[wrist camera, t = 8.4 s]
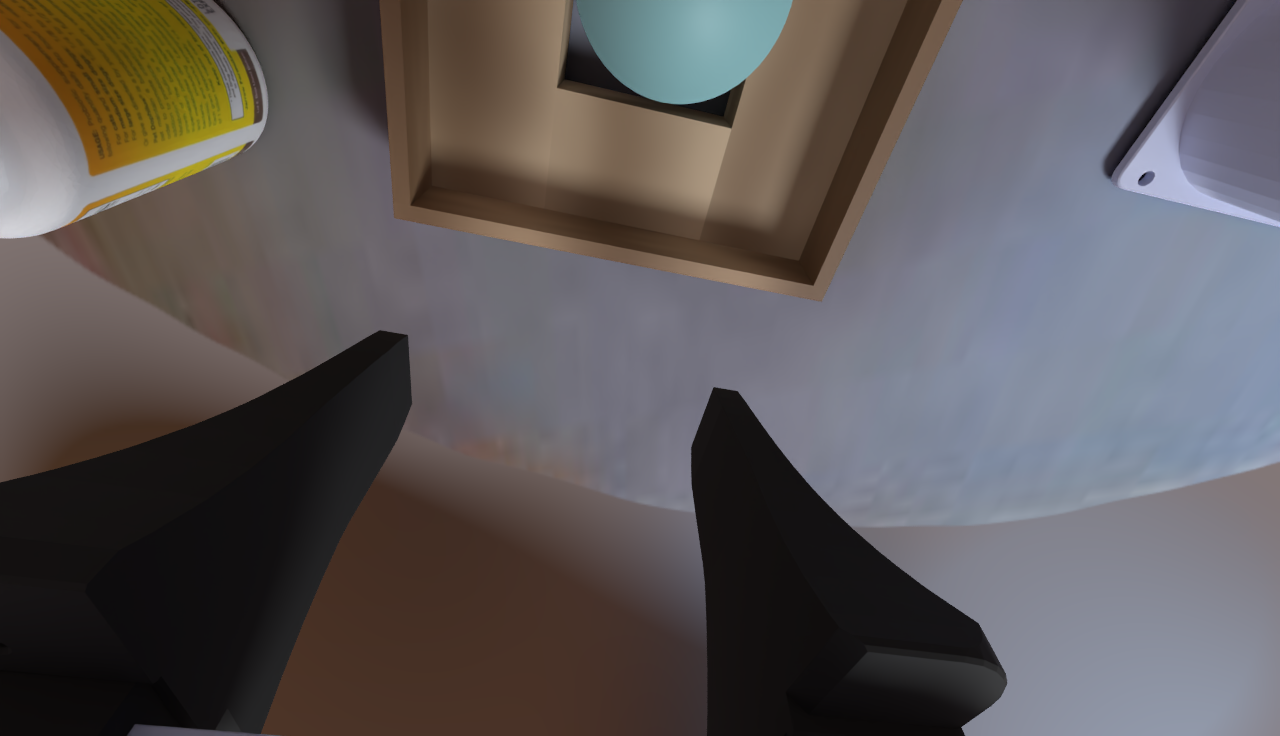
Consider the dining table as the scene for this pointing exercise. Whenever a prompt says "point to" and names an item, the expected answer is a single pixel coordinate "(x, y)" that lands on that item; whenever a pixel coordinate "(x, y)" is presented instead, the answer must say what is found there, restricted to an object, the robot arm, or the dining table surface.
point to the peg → (682, 43)
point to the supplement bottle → (116, 103)
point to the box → (653, 138)
